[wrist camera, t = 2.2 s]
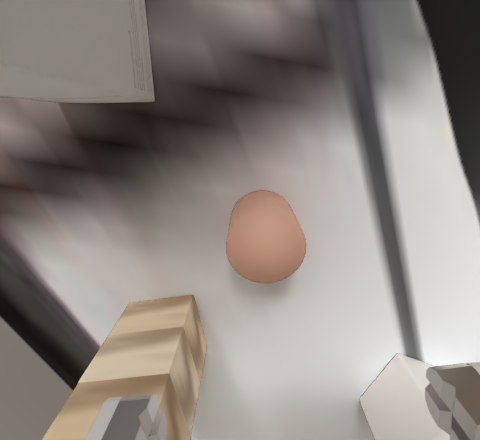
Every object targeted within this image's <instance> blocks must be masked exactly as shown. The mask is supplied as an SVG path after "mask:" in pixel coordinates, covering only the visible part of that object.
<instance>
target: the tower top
mask: <svg viewBox="0 0 480 440" xmlns="http://www.w3.org/2000/svg"><path fill="white" fill-rule="evenodd" d="M152 394H157V396H158V398H159V401H160V403H159V406H158V408H159V409H160V410H162V411H163V412H164V414H165V417H166V425H167V426H166V437H165V440H191V434H190V431H189V428H188V425H187V422H186V420H185V417H184V414H183V411H182V408H181V405H180V403H179V400H178V397H177V394H176V391H175V388H174V385H173V383H172V380H171V377H170V374H169V373H168V374H159V375H149V376H140V377H130V378H121V379H112V380H102V381H93V382H83V383H78V385H77V386H76V388H75V389H74V391H73V392H72V394H71V396H70V397H69V399H68V400H67V402H66V403H65V405H64V407H63V408H62V409H61V411H60V413H59V414H58V416H57V417H56V419H55V420H54V422H53V424H52V425H51V427H50V428H49V430H48V431H47V433H46V434H45V436H44V437H43V439H42V440H84V439H85V438H86V436H87V434H88V432H89V430H90V428H91V426H92V424H93V422H94V420H95V418H96V417H97V415H98V413H99V411H100V409H101V407H102V405H103V403H104V402H105V401H106V400H107V399H108V398H110V397H122V396H137V395H152Z"/></svg>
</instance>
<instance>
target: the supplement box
mask: <svg viewBox="0 0 480 440" xmlns="http://www.w3.org/2000/svg"><path fill="white" fill-rule="evenodd" d="M0 96H1V97H12V98H22V99H31V100H39V101H48V102H62V103H126V102H154V101H155V97H154V86H153V76H152V67H151V55H150V47H149V36H148V26H147V16H146V7H145V0H0Z"/></svg>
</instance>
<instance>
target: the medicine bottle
mask: <svg viewBox="0 0 480 440" xmlns="http://www.w3.org/2000/svg"><path fill="white" fill-rule="evenodd" d="M429 367H435V366H432V365H429V364H427V363H424V362H421V361H418V360H416V359H413V358H410V357H407V356H405V355H402V354H396V355H395V356H394V358H393V359H392V360H391V361H390V363H389V364H388V365H387V366H386V367H385V369H384V370H383V371H382V372H381V373H380V375H379V376H378V377H377V378H376V380H375V381H374V382H373V383H372V384H371V386H370V387H369V388H368V389H367V390H366V392H365V393H364V394H363V395H362V397H361V398H360V403H361V406H362V408H363V411H364V413H365V416H366V418H367V421H368V423H369V426H370V428H371V431H372V433H373V436H374V438H375V440H449V438H450V435H449V434H447V433H446V432H445V431H443V430H442V429H441V428H439V427H438V426H437V424H436V423H435V421H434V419H433V418H432V416H431V414H430V412H429V410H428V407H427V404H426V400H425V388H426V387H427V386H428V385H429V383H430V382H429V381H428V379H427V378H426V370H427V369H428V368H429Z"/></svg>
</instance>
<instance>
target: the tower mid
mask: <svg viewBox="0 0 480 440" xmlns="http://www.w3.org/2000/svg"><path fill="white" fill-rule="evenodd" d="M168 373H169V374H170V377H171V380H172V383H173V385H174V388H175V391H176V394H177V397H178V400H179V403H180V405H181V408H182V411H183V414H184V417H185V420H186V422H187V425H188V428H189V431H190V434H191V433H192V427H193V422H194V416H195V411H196V405H197V400H198V394H199V388H200V381H199V378H198V374H197V371H196V367H195V364H194V361H193V357H192V354H191V351H190V347H189V344H188V341H187V337H186V334H185V330H184V327H176V328H168V329H159V330H150V331H142V332H133V333H125V334H116V335H108V337H107V338H106V340H105V341H104V343H103V345H102V346H101V348H100V349H99V351H98V352H97V354H96V355H95V357H94V358H93V360H92V362H91V363H90V365H89V366H88V368H87V369H86V371H85V372H84V374H83V375H82V377H81V379H80V380H79V382H78V383H83V382H93V381H102V380H112V379H121V378H130V377H140V376H149V375H159V374H168Z"/></svg>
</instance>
